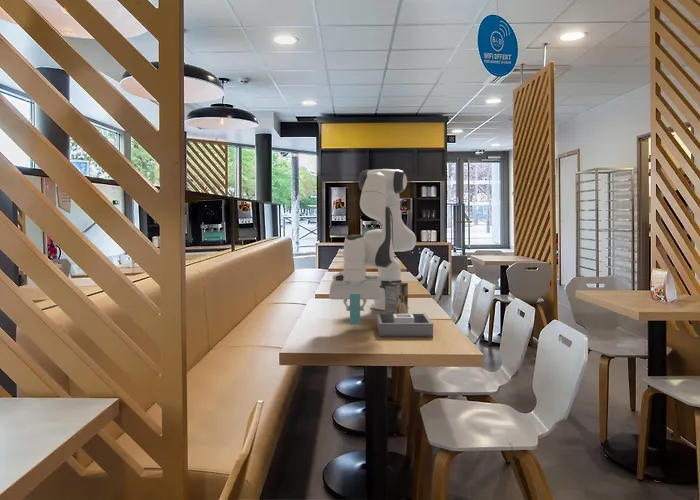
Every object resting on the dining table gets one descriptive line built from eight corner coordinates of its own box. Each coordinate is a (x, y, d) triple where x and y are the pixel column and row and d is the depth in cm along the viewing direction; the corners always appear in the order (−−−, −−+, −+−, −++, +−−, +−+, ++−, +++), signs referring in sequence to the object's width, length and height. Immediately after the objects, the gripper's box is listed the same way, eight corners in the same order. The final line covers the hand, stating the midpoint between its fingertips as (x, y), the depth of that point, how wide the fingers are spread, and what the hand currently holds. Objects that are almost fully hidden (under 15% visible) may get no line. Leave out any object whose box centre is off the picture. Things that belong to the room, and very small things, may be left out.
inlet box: (376, 325, 203) (376, 311, 202) (425, 325, 203) (425, 311, 202) (379, 337, 183) (379, 321, 182) (433, 337, 183) (433, 321, 182)
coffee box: (395, 317, 219) (395, 281, 218) (408, 319, 215) (408, 282, 214) (384, 321, 212) (384, 284, 211) (397, 322, 208) (397, 285, 207)
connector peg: (350, 322, 197) (349, 292, 196) (360, 322, 197) (359, 292, 196) (349, 324, 193) (349, 294, 192) (360, 324, 193) (360, 294, 192)
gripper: (380, 274, 197) (380, 308, 198) (329, 274, 197) (330, 309, 198) (381, 276, 190) (381, 311, 192) (328, 276, 191) (329, 312, 192)
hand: (354, 310), depth 195 cm, fingers closed on connector peg, 4 cm apart
